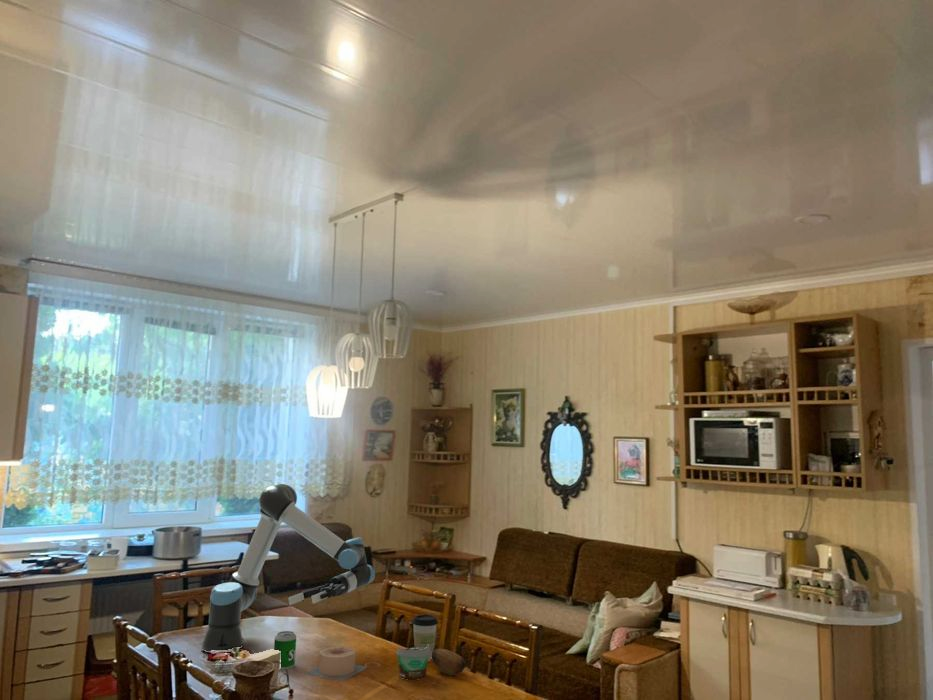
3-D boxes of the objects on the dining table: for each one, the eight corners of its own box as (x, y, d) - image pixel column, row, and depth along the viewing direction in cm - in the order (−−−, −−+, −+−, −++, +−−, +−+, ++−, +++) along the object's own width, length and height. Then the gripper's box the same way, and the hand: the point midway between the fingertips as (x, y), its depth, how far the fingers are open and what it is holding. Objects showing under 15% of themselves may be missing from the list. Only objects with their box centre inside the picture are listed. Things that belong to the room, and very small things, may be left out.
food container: (402, 683, 219) (403, 652, 220) (395, 678, 224) (396, 647, 226) (435, 678, 224) (436, 648, 226) (428, 673, 230) (429, 643, 231)
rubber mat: (303, 676, 224) (303, 673, 224) (330, 663, 238) (331, 660, 238) (342, 684, 217) (342, 680, 218) (368, 669, 232) (368, 666, 232)
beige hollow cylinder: (312, 672, 225) (313, 654, 226) (332, 662, 236) (333, 645, 237) (341, 678, 220) (342, 659, 221) (360, 667, 231) (361, 649, 232)
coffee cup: (433, 664, 240) (434, 621, 242) (407, 662, 241) (409, 619, 244) (439, 656, 249) (440, 615, 251) (415, 654, 251) (416, 613, 253)
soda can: (282, 674, 226) (285, 637, 228) (268, 669, 230) (270, 633, 232) (299, 668, 232) (301, 632, 234) (284, 664, 236) (286, 629, 238)
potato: (462, 684, 229) (458, 677, 223) (429, 669, 234) (424, 661, 228) (471, 663, 233) (467, 655, 227) (438, 648, 238) (433, 641, 233)
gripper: (366, 592, 254) (324, 609, 236) (324, 594, 268) (281, 611, 251) (362, 572, 255) (320, 588, 238) (320, 576, 269) (278, 591, 252)
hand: (300, 600), depth 244 cm, fingers open, 13 cm apart
